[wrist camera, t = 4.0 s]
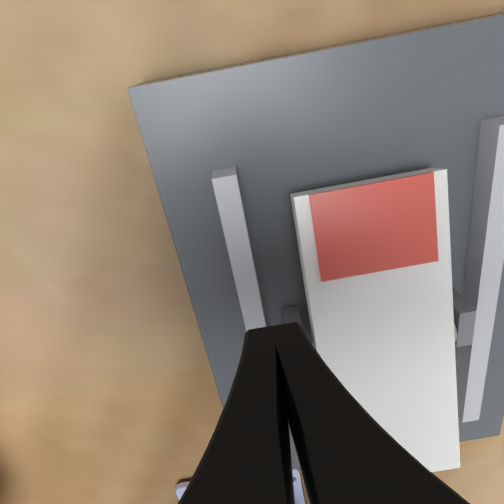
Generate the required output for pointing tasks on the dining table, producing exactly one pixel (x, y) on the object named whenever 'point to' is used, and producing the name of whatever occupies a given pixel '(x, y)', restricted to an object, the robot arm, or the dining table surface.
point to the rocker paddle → (386, 303)
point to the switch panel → (334, 180)
